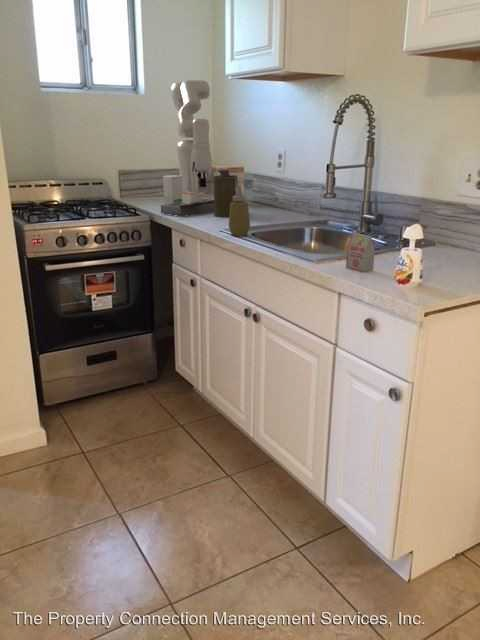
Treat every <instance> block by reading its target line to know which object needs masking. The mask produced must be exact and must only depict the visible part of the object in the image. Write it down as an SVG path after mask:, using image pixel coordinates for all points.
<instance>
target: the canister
mask: <svg viewBox="0 0 480 640" xmlns="http://www.w3.org/2000/svg"><path fill="white" fill-rule="evenodd" d="M218 172H220V176H215V175H213V176H212V178H213V179H212V180H213V200H214V214H213V216H214V217H217V218H229V215H230V203H231V202H233V196H236V185H237V186H238V180H237V175H229V171H228V170H220V171H218Z"/></svg>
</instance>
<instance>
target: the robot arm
mask: <svg viewBox="0 0 480 640" xmlns="http://www.w3.org/2000/svg"><path fill="white" fill-rule="evenodd" d="M210 93H211V88H210V85H209V83H208V82H207V81H206V80H192V79H191V80H189V79H188V80H185V81H178V82H174V83H172V85H171V88H170V94H171V99H172V101H173V105H174V107H175V111H176V122H177V130H178V135H179V137H181V138H185V140H180V141H179V142H177V144H176V153H177V158H178V166H179V169H178V171H179V176H182V179H183V192H188V191H189V192H197V200H202V199H201V198H200V197H204V196H205V192H200V191H199V190H198V189H199V188H206V187H207V178H208V176H209V175H211V174H212V170H213V160H212V154H211V152H212V151H211V149H210V148H211V144H210V124H209V120H208V119H206V118H194V114H196V113H198V112H199V111H200V110H201V108H202V103H201V101H204V100H207V99H209V97H210ZM187 138H189V139H187ZM198 182H199V183H198ZM198 185H199V186H198ZM198 187H199V188H198Z"/></svg>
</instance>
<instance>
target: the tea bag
mask: <svg viewBox="0 0 480 640" xmlns="http://www.w3.org/2000/svg"><path fill="white" fill-rule="evenodd" d="M375 252H376V251H375V247H374V243H373V237H372V235H368V234H363V233H357V232H351V235H350V240H349V242H348V245H347V247H346V261H345V262H346V264H345V268H346V269H348V270H353V271H355V272H356V271H357V272H360V273H363V274H365V273H369V272H373V271H374V263H375V262H374V261H375Z"/></svg>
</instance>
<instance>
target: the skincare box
mask: <svg viewBox="0 0 480 640" xmlns="http://www.w3.org/2000/svg"><path fill="white" fill-rule="evenodd" d="M162 184H163V185H162V186H163V202H164V203H163V205H165V204H170V203H178V202H182V192H183V179H182V176H180V175H162Z"/></svg>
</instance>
